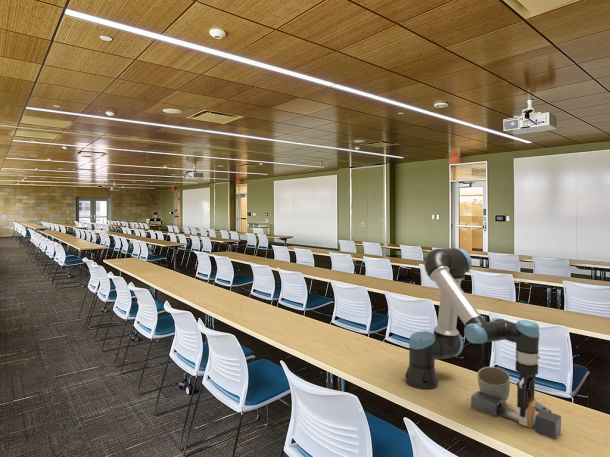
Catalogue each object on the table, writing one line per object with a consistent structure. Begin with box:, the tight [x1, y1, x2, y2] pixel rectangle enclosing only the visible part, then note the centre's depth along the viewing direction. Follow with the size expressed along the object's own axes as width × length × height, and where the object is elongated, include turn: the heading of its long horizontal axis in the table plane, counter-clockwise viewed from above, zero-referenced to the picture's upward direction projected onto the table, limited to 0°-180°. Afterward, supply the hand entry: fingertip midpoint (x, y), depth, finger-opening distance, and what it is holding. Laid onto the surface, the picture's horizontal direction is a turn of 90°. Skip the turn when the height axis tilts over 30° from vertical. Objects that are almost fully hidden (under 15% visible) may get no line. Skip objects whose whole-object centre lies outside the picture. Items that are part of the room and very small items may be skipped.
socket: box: [534, 410, 562, 440], centre depth 141 cm, size 6×7×6 cm
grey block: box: [470, 390, 504, 418], centre depth 157 cm, size 10×7×5 cm
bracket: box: [535, 401, 552, 413], centre depth 159 cm, size 4×10×2 cm, turn 10°
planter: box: [477, 366, 511, 403], centre depth 163 cm, size 12×12×11 cm
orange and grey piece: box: [497, 396, 537, 429], centre depth 148 cm, size 19×4×10 cm, turn 43°
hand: (525, 422), depth 147 cm, fingers closed on orange and grey piece, 4 cm apart
